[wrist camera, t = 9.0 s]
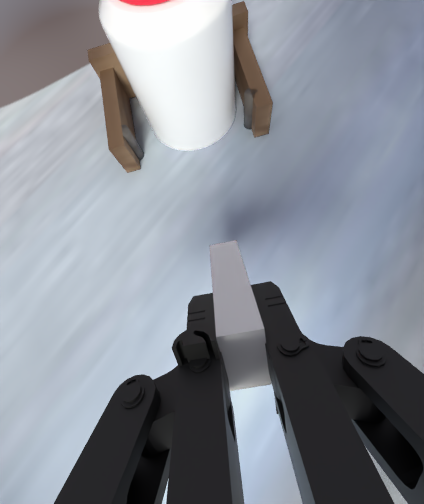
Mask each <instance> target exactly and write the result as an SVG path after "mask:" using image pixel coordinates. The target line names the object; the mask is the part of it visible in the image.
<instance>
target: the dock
mask: <svg viewBox="0 0 424 504" xmlns="http://www.w3.org/2000/svg"><path fill="white" fill-rule="evenodd" d="M232 18H233V47H234V76H235V81H236V84H237V87H238V90H239V93H240V96H241V99H242V102H243V105H244V126H245V128H247V129H252V132H253V135H254V137H258V136H262V135H265V134H269V126H270V119H271V112H272V105H273V102H272V100H271V97H270V94H269V92H268V89H267V86H266V84H265V81H264V79H263V76H262V73H261V71H260V68H259V65H258V63H257V60H256V57H255V55H254V52H253V50H252V47H251V44H250V42H249V39H248V10H247V8H246V5H245V2H244V1H243V2H240V3H236V4H233V5H232ZM88 58H89V62H90V63H91V65H92V67H93V68H94V70H95V72H96V73H97V75H98V77H99V78H100V80H101V88H102V97H103V105H104V113H105V121H106V130H107V138H108V146H109V150H110V152H111V153H112V154H113V155H114V157H115V158H116V159H117V160H118V162H119V163H120V164H121V165H122V167H123V168H124V169H125V170H126V172H127V173H128V172H132V171H135V170H139V169H141V168H140V162H139V160H141V159H142V158H143V157H144V153H143V151H142V150H141V148H140V146H139V145H138V143H137V141H136V137H135V131H134V125H133V119H132V113H131V107H130V100H129V99H130V98H133V97H136V95H135V93H134V91H133V89H132V87H131V85H130V83H129V81H128V79H127V77H126V75H125V73H124V70H123V68H122V66H121V64H120V62H119V60H118V58H117V56H116V54H115V52H114V50H113V48H112V46H111V44H110V43H108V44H105V45H102V46H98V47H96V48H92V49H89V50H88Z"/></svg>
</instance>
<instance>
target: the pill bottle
mask: <svg viewBox="0 0 424 504" xmlns="http://www.w3.org/2000/svg"><path fill="white" fill-rule="evenodd" d="M99 17H100V22H101V24H102V27H103V29H104V31H105V33H106V35H107V37H108V39H109V42H110V44H111V46H112V48H113V50H114V52H115V54H116V56H117V58H118V60H119V62H120V64H121V66H122V68H123V70H124V73H125V75H126V77H127V79H128V81H129V83H130V85H131V87H132V89H133V91H134V93H135V95H136V97H137V99H138V102H139V104H140V106H141V108H142V110H143V112H144V114H145V116H146V118H147V120H148V122H149V124H150V126H151V128H152V131H153V133H154V135H155V136H156V137H157V138H158V140H159V141H160V142H162V143H163V144H164V145H166V146H168V147H170V148H172V149H176V150H181V151H193V150H199V149H203V148H206V147H208V146H210V145H212V144H214V143H216V142H217V141H219V140H220V139H221V138H222V137H223V136H224V135H225V134H226V133H227V132H228V131H229V129H230V128H231V126H232V124H233V121H234V119H235V113H236V105H235V76H234V47H233V18H232V0H100V4H99Z"/></svg>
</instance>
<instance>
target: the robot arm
mask: <svg viewBox="0 0 424 504" xmlns="http://www.w3.org/2000/svg"><path fill="white" fill-rule="evenodd" d="M209 246H210V260H211V273H212V287H213V293H210V294H204V295H199V296H193V298H192V300H191V301H190V303H189V305H188V317H187V330H186V331H184V332H183V333H181V334H180V335H179V336H178V337H177V338H176V339H175V341H174V343H173V346H172V350H173V353H174V355H175V358H176V360H177V363H178V366H176V367H175V368H174V369H173V370H172V371H170V372H168V373H167V374H165V375H162V376H160V377H158V378H156V379H154V380H152V379H151V378H150V376H146V375H135V376H133V377H131V378H129V379H127V380H126V381H124V382H123V383H122V384H121V385H120V386H119V387H118V388H117V390H116V391H115V393H114V394H113V396H112V398H111V399H110V401H109V403H108V405H107V407H106V409H105V411H104V412H103V414H102V416H101V418H100V420H99V422H98V423H97V425H96V427H95V429H94V431H93V433H92V434H91V436H90V438H89V440H88V442H87V444H86V445H85V447H84V449H83V451H82V453H81V455H80V456H79V458H78V460H77V462H76V464H75V466H74V467H73V469H72V471H71V473H70V475H69V477H68V478H67V480H66V482H65V484H64V486H63V488H62V490H61V491H60V493H59V495H58V497H57V499H56V501H55V502H54V504H162V500H163V497H164V493H165V489H166V485H167V482H168V491H167V502H166V504H244V497H243V489H242V480H241V472H240V463H239V455H238V446H237V438H236V429H235V421H234V412H233V406H232V402H231V398H230V391H233V390H239V389H245V388H251V387H257V386H264V385H270V384H271V382H272V386H273V389H274V395H275V403H276V411H277V414H279V417H280V420H281V424H282V428H283V431H284V435H285V439H286V443H287V446H288V450H289V454H290V457H291V461H292V465H293V469H294V472H295V476H296V480H297V483H298V487H299V491H300V495H301V498H302V502H303V504H394V502H393V500H392V498H391V496H390V494H389V492H388V490H387V489H386V487H385V485H384V483H383V481H382V479H381V477H380V475H379V473H378V471H377V469H376V467H375V465H374V463H373V461H372V459H371V457H370V455H369V453H368V451H369V452H370V453H371V455H372V456H373V457H374V459H375V460H376V461H377V463H378V464H379V465H380V467H381V468H382V469H383V471H384V472H385V473H386V475H387V476H388V477H389V479H390V480H391V481H392V483H393V484H394V485H395V487H396V488H397V489H398V491H399V492H400V493H401V495H402V496H403V497H404V499H405V500H406V501H407V503H408V504H424V374H423V373H422V372H421V371H419V370H418V369H417V368H416V367H414V366H413V365H412V364H411V363H409V362H408V361H407V360H406V359H404V358H403V357H402V356H401V355H400V354H398V353H397V352H396V351H395V350H393V349H392V348H391V347H390V346H388V345H386V344H385V343H383V342H382V341H379V340H376V339H374V338H371V337H361V336H360V337H355V338H351V339H350V340H348V341H347V342H346V343H345V345H344V347H337V346H327V345H322V344H318V343H315V342H313V341H311V340H309V339H308V338H307V337H306V336H305V335H303V334H302V332H301V331H300V329H299V327H298V325H297V323H296V321H295V319H294V317H293V315H292V313H291V311H290V309H289V307H288V305H287V304H286V301H285V299H284V297H283V295H282V293H281V291H280V289H279V287H278V286H276V285H275V284H274V283H272V282H271V281H270V282H265V283H260V284H254V285H250V282H249V279H248V275H247V272H246V269H245V266H244V263H243V260H242V256H241V253H240V250H239V247H238V244H237V241H236V240H234V241H229V242H224V243H219V244H213V245H209ZM364 445H365V446H364ZM365 447H366V448H367V449H368V451H367V450H366V448H365ZM168 478H169V480H168Z"/></svg>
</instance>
